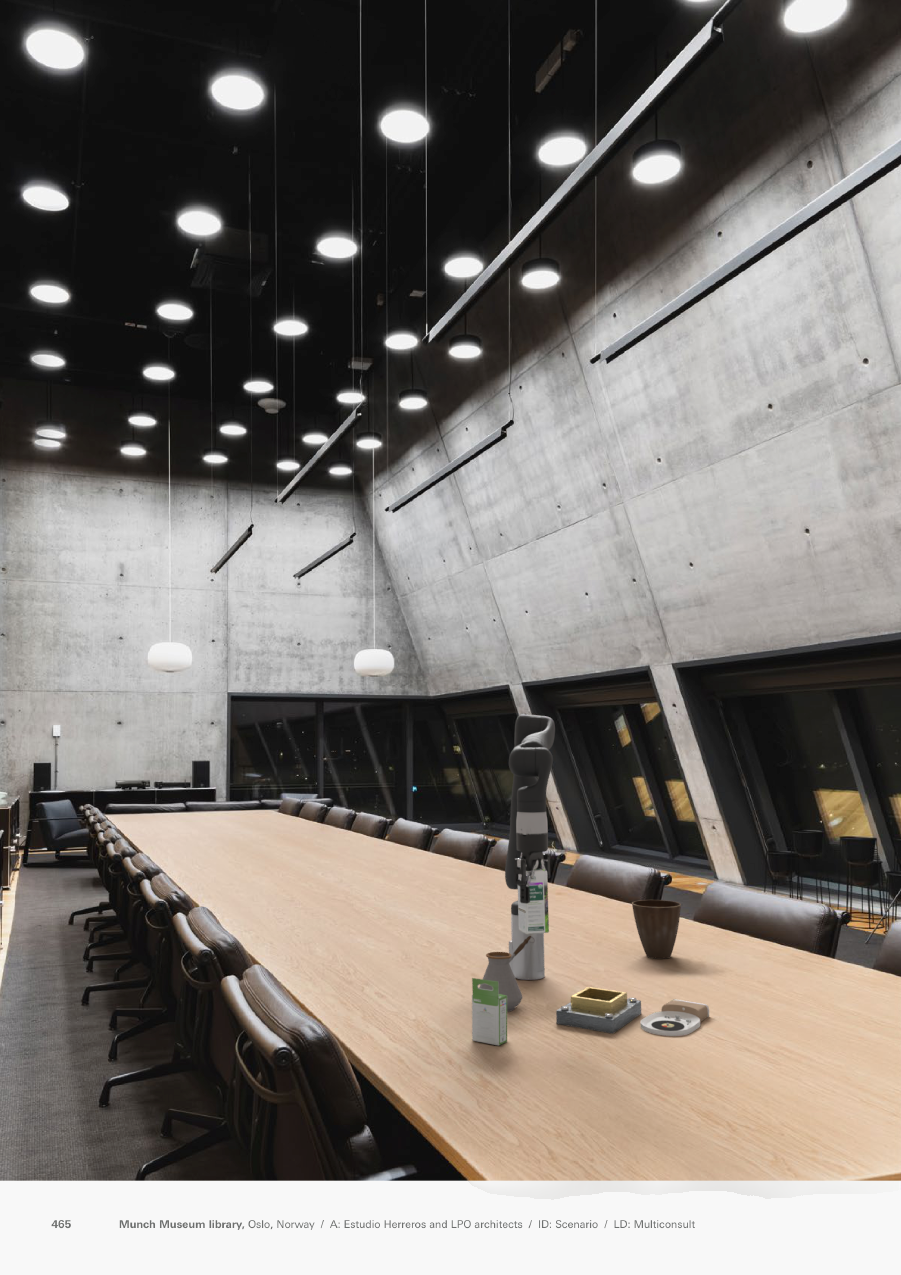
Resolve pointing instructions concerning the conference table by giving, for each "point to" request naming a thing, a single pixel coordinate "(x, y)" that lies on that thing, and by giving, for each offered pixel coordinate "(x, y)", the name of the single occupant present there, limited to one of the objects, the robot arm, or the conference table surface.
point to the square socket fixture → (599, 1010)
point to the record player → (676, 1018)
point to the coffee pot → (504, 975)
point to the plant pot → (657, 926)
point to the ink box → (488, 1013)
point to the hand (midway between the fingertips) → (533, 900)
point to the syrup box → (535, 905)
